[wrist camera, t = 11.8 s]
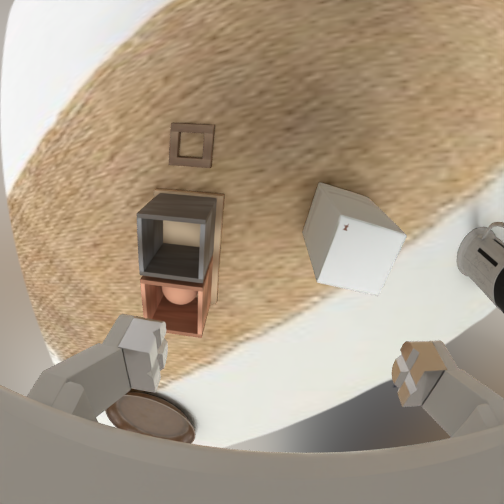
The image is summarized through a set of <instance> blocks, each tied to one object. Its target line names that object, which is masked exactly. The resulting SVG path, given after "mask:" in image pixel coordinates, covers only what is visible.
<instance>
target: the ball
mask: <svg viewBox="0 0 504 504" xmlns="http://www.w3.org/2000/svg"><path fill="white" fill-rule="evenodd" d="M162 291H163V293H164V295H165V297H166V298H167V299H168V300H169V301H170V302H172V303H174V304H179V305H183V304H187V303H189V302H191V301H192V300H193V299H194V298H195V297H196V295H197V294H198V291H194V290H186V289H178V288H171V287H164V286H162Z"/></svg>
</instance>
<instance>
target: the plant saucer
mask: <svg viewBox="0 0 504 504" xmlns="http://www.w3.org/2000/svg"><path fill="white" fill-rule="evenodd" d="M105 411H106V414H107V417H108V418H109V420H110V421H111V422H112V423H113V425H114V426H115V427H116V428H119V429H123V430H126V431H130V432H135V433H139V434H143V435H148V436H152V437H157V438H162V439H167V440H172V441H178V442H183V443H190V444H191V443H192V442H193V441H194V439H195V430H194V428H193V426H192V424H191V422H190V421H189V419H188V418H187V417H186V415H185V414H184V413H183V412H182V411H181V410H179V409H178V408H177V407H176V406H174V405H173V404H171V403H169V402H168V401H166V400H164V399H161V398H159V397H156V396H153V395H150V394H145V393H138V392H130V393H126V394H125V395H124V396H122V397H121V398H120V399H119V400H117V401H116V402H115V403H113V404H112V405H111V406H110V407H108V408H107V409H106V410H105Z"/></svg>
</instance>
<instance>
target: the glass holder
mask: <svg viewBox="0 0 504 504" xmlns="http://www.w3.org/2000/svg"><path fill="white" fill-rule="evenodd" d="M494 226H500V227H503V228H504V223H503V222H495V223H492V224H491V225H490V226H489V227H488V228H487V227H479V228H476V229H474V230H472V231H471V232H470V233H469V234H468V235H467V236H466V237H465V238H464V239H463V241H462V243H461V245H460V247H459V250H458V254H457V265H458V268H459V270H460V272H461V273H462V274H464V275H466V276H469V277H470V278H471V279H472V280H473V281H474V282H475V283H476V285H477V286H478V287H479V288H480V289H481V290H482V291H483V292H484V293H485V294H486V295H487V297H488V298H489V299H490V300H491V301H492V302H493V303H494V304H495V306H496V307H498V308H499V309H500V310H501V311H502V312H503V313H504V243H503V242H502V241H501V240H499V239H498V238H497V237H496V236H495V234H494V233H493V231H492V230H491V229H492V227H494Z"/></svg>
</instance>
